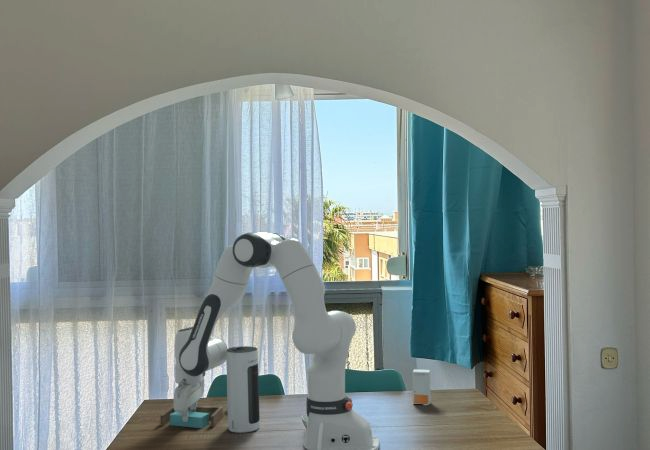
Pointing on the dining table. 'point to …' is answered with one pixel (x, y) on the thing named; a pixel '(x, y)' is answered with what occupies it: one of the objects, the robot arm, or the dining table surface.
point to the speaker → (242, 389)
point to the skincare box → (421, 387)
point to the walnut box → (214, 412)
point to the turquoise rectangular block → (190, 419)
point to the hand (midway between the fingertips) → (189, 417)
